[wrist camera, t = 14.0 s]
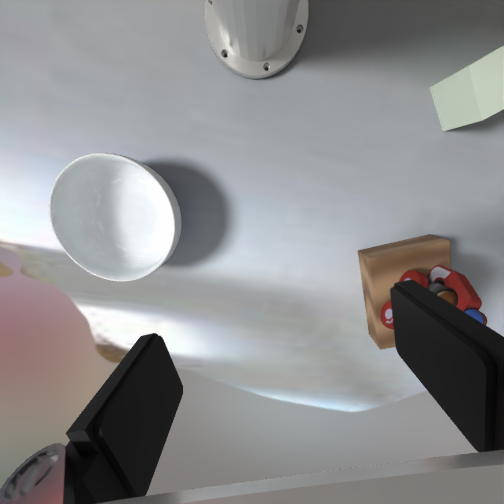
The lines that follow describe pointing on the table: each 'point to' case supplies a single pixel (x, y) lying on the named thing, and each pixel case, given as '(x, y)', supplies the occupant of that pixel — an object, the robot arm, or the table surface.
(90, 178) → the cereal bowl
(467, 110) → the sage cube
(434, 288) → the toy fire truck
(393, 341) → the tan block
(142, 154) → the table surface
